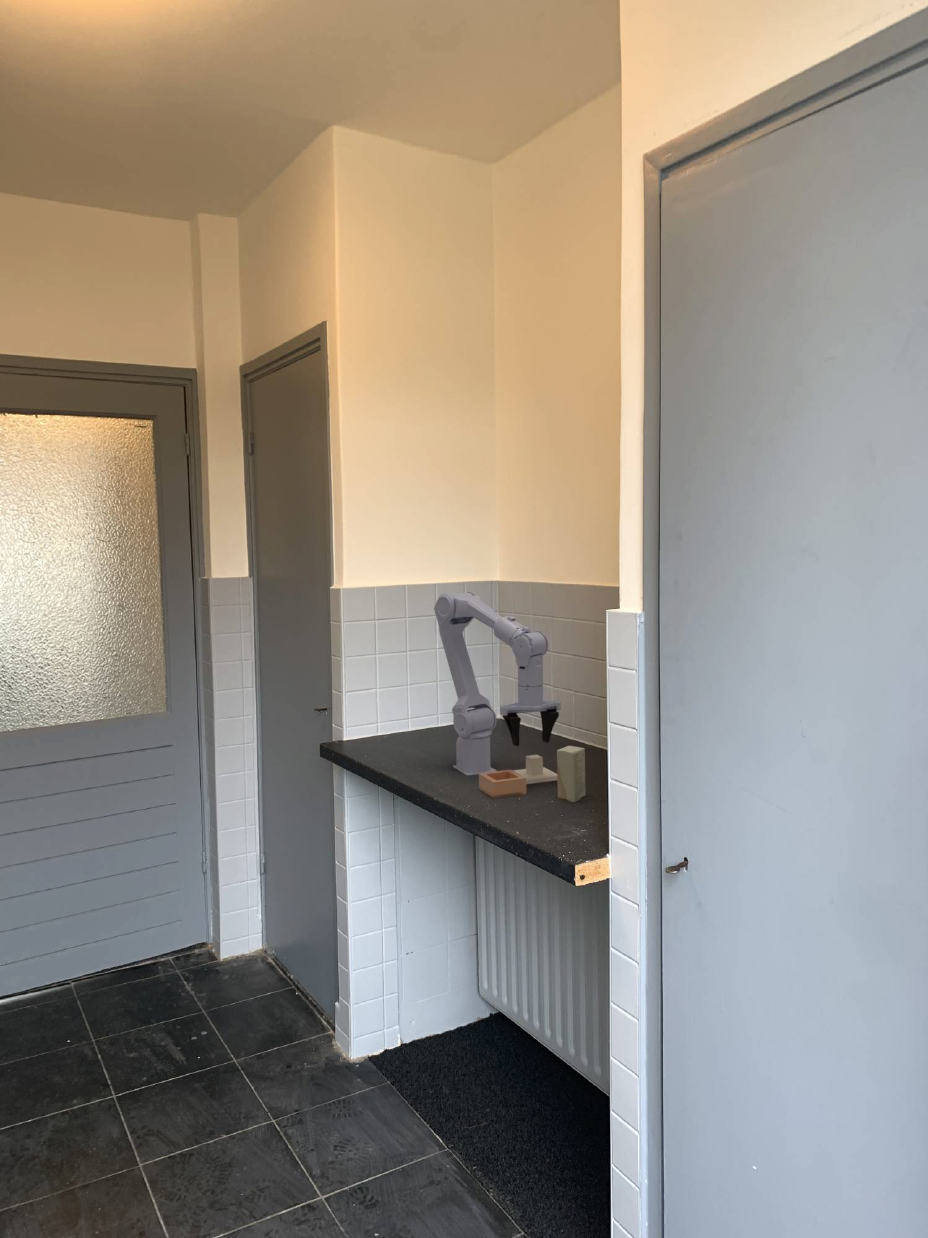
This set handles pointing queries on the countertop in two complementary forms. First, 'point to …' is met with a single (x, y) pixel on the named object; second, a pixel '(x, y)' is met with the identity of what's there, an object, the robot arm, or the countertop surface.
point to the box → (571, 773)
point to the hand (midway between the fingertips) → (530, 743)
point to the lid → (536, 770)
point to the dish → (502, 784)
